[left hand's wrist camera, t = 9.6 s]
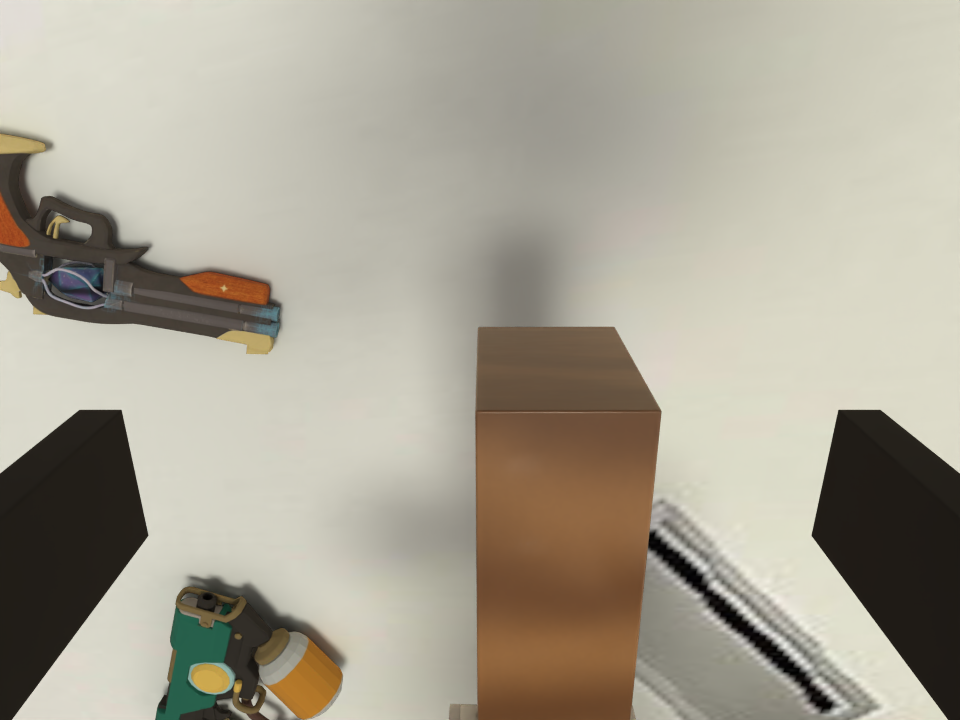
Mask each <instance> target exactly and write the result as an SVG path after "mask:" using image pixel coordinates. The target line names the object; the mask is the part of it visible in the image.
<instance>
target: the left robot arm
mask: <svg viewBox="0 0 960 720" xmlns="http://www.w3.org/2000/svg"><path fill="white" fill-rule="evenodd" d="M147 537H148V531H147V527H146V522H145V517H144V513H143V508H142V503H141V499H140V494H139V489H138V485H137V480H136V475H135V471H134V466H133V461H132V457H131V452H130V447H129V443H128V438H127V433H126V429H125V424H124V419H123V415H122V410H79V411H78V412H76V413H75V414H74V415H73V416H71V417H70V418H69V419H68V420H66V421H65V422H64V423H63V424H61V425H60V426H59V427H58V428H56V429H55V430H54V431H53V432H52V433H50V434H49V435H48V436H47V437H45V438H44V439H43V440H42V441H40V442H39V443H38V444H37V445H35V446H34V447H33V448H32V449H30V450H29V451H28V452H27V453H25V454H24V455H23V456H22V457H20V458H19V459H18V460H17V461H15V462H14V463H13V464H12V465H10V466H9V467H8V468H7V469H5V470H4V471H3V472H2V473H0V720H12V719H13V717H14V716H15V715H16V713H17V712H18V711H19V709H20V708H21V707H22V705H23V704H24V703H25V701H26V700H27V699H28V697H29V696H30V695H31V693H32V692H33V691H34V689H35V688H36V686H37V685H38V684H39V682H40V681H41V680H42V678H43V677H44V676H45V674H46V673H47V672H48V670H49V669H50V668H51V666H52V665H53V664H54V662H55V661H56V660H57V658H58V657H59V655H60V654H61V653H62V651H63V650H64V649H65V647H66V646H67V645H68V643H69V642H70V641H71V639H72V638H73V637H74V635H75V634H76V633H77V631H78V630H79V629H80V627H81V626H82V624H83V623H84V622H85V620H86V619H87V618H88V616H89V615H90V614H91V612H92V611H93V610H94V608H95V607H96V606H97V604H98V603H99V602H100V600H101V599H102V598H103V596H104V595H105V593H106V592H107V591H108V589H109V588H110V587H111V585H112V584H113V583H114V581H115V580H116V579H117V577H118V576H119V575H120V573H121V572H122V571H123V569H124V568H125V567H126V565H127V564H128V563H129V561H130V560H131V558H132V557H133V556H134V554H135V553H136V552H137V550H138V549H139V548H140V546H141V545H142V544H143V542H144V541H145V540H146V538H147ZM812 537H813V538H814V540H815V541H816V542H817V544H818V545H819V546H820V548H821V549H822V550H823V552H824V553H825V554H826V556H827V557H828V558H829V560H830V561H831V563H832V564H833V565H834V567H835V568H836V569H837V571H838V572H839V573H840V575H841V576H842V577H843V579H844V580H845V581H846V583H847V584H848V585H849V587H850V588H851V589H852V591H853V592H854V593H855V595H856V596H857V598H858V599H859V600H860V602H861V603H862V604H863V606H864V607H865V608H866V610H867V611H868V612H869V614H870V615H871V616H872V618H873V619H874V620H875V622H876V623H877V624H878V626H879V627H880V629H881V630H882V631H883V633H884V634H885V635H886V637H887V638H888V639H889V641H890V642H891V643H892V645H893V646H894V647H895V649H896V650H897V651H898V653H899V654H900V655H901V657H902V658H903V660H904V661H905V662H906V664H907V665H908V666H909V668H910V669H911V670H912V672H913V673H914V674H915V676H916V677H917V678H918V680H919V681H920V682H921V684H922V685H923V686H924V688H925V689H926V691H927V692H928V693H929V695H930V696H931V697H932V699H933V700H934V701H935V703H936V704H937V705H938V707H939V708H940V709H941V711H942V712H943V713H944V715H945V716H946V717H947V719H948V720H960V473H958V472H957V471H956V470H955V469H953V468H952V467H951V466H950V465H948V464H947V463H946V462H945V461H943V460H942V459H941V458H940V457H938V456H937V455H936V454H935V453H933V452H932V451H931V450H930V449H928V448H927V447H926V446H925V445H923V444H922V443H921V442H920V441H918V440H917V439H916V438H915V437H913V436H912V435H911V434H910V433H908V432H907V431H906V430H905V429H904V428H902V427H901V426H900V425H899V424H897V423H896V422H895V421H894V420H892V419H891V418H890V417H889V416H887V415H886V414H885V413H884V412H882V411H881V410H838V415H837V419H836V424H835V429H834V433H833V438H832V443H831V447H830V452H829V457H828V461H827V466H826V471H825V475H824V480H823V485H822V489H821V494H820V499H819V503H818V508H817V513H816V517H815V522H814V527H813V531H812Z"/></svg>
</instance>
